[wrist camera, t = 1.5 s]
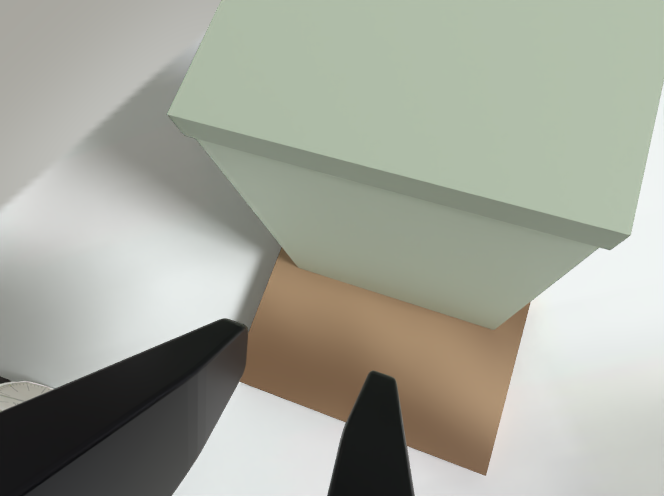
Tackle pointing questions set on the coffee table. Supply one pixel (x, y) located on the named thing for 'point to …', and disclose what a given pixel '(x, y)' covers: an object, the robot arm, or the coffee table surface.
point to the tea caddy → (432, 137)
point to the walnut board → (383, 360)
